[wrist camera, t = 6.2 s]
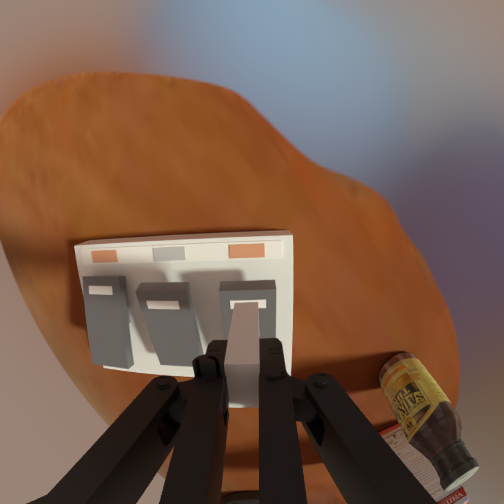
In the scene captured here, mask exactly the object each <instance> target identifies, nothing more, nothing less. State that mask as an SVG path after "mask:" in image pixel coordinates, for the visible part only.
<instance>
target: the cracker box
mask: <svg viewBox="0 0 504 504" xmlns="http://www.w3.org/2000/svg"><path fill="white" fill-rule="evenodd" d="M378 433H379V434H380V435H381V436H382V438H383V439H384V440H385V441H386V442H387V444H388V445H389V446H390V447H391V448H392V450H393V451H394V452H395V453H396V454H397V456H398V457H399V458H400V459H401V461H402V462H403V463H404V464H405V465H406V467H407V468H408V469H409V470H410V471H411V472H412V474H413V475H414V476H415V477H416V478H417V480H418V481H419V482H420V483H421V484H422V486H423V487H424V488H425V489H426V490H427V491H428V493H429V494H430V495H431V496H432V497H433V499H434V500H435V501H436V502H437V503H438V504H466V503H467V502H468V500H469V498H468V496H467V494H466V492H465V491H464V489H463V487H462V485H461V484H460V485H459V486H457V487H455V488H454V489H452V490H450V491H443V489H442V487H441V485H440V478H439V476H438V474H437V472H436V470H435V468H434V467H433V466H432V464H431V462H430V461H429V460H428V459H427V458H426V457H425V456H424V455H423V454H421V453H420V452H419V451H418V450H416V449H415V448H414V447H413V446H412V445H410V444H409V442H408V440H407V438H406V436H405V434H404V432H403V430H402V428H401V426H400V424H399V423H398V424H396V425H394V426H391V427H389V428H387V429H385V430H383V431H380V432H378Z"/></svg>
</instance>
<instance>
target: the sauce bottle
mask: <svg viewBox="0 0 504 504" xmlns="http://www.w3.org/2000/svg"><path fill="white" fill-rule="evenodd" d="M379 383H380V385H381V389H382V391H383V393H384V395H385V397H386V399H387V401H388V403H389V405H390V406H391V408H392V410H393V412H394V414H395V416H396V418H397V420H398V423H399V424H400V426H401V428H402V430H403V432H404V434H405V436H406V438H407V440H408V442H409V444H410V445H412V446H413V447H414V448H415V449H416V450H418V451H419V452H420V453H421V454H423V455H424V456H425V457H426V458H427V459H428V460H429V461H430V462H431V464H432V466H433V467H434V468H435V470H436V472H437V474H438V476H439V478H440V485H441V487H442V489H443V491H450V490H452V489H454V488H455V487H457V486H459V485H460V484H462V483H463V482H464V481H466V480H467V479H468V478H470V477H471V476H472V475H473V474H474V473H475V472H476V471H477V470H478V468H479V465H478V463H477V461H476V459H475V458H472V457H471V455H470V453H469V452H468V450H467V449H466V447H465V445H464V442H463V441H462V440H461V429H462V426H461V419H460V417H459V415H458V414H457V412H456V411H455V409H454V408H453V406H452V403H451V402H450V400H449V399H448V398H447V396H446V395H445V394H444V392H443V391H442V390H441V388H440V387H439V386H438V384H437V383H436V381H435V380H434V379H433V377H432V376H431V375H430V373H429V372H428V371H427V369H426V368H425V367H424V366H423V364H422V363H421V362H420V361H419V360H418V359H417V358H416V357H415V356H414V355H413V354H411V353H406V352H404V353H399V354H397V355H395V356H393V357H392V358H391V359H389V360H388V361H387V362H386V363H385V364H384V366H383V367H382V369H381V370H380V373H379Z"/></svg>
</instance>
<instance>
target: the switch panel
mask: <svg viewBox="0 0 504 504" xmlns="http://www.w3.org/2000/svg"><path fill="white" fill-rule="evenodd" d="M74 248H75V255H76V261H77V267H78V272H79V277H80V283H81V287H82V292H83V277H82V276H125V277H126V294H127V308H128V319H129V328H130V337H131V345H132V352H133V359H134V365H133V366H132V367H130V368H129V369H124V368H117V367H110V366H104V368H109V369H115V370H123V371H130V372H139V373H148V374H159V375H171V376H188V377H195V376H194V370H193V367H187V366H169V365H160V362H159V360H158V357H157V355H156V352H155V349H154V347H153V344H152V341H151V338H150V335H149V333H148V330H147V327H146V324H145V321H144V318H143V315H142V312H141V308H140V305H139V302H138V299H137V295H136V292H135V291H136V290H137V288H138V286H139V285H140V283H149V282H189V284H190V290H191V295H192V300H193V305H194V311H195V316H196V320H197V325H198V330H199V335H200V339H201V344H202V348H203V353H204V354H205V353H206V350H207V346H208V344H209V343H210V342H211V341H212V340H225V336H224V329H223V321H222V314H221V306H220V299H219V286H220V281H249V280H275V283H276V338H278V339H279V340H280V341H281V342H282V346H283V352H284V359H285V365H286V371H287V373H288V374H289V375H290V376H291V359H292V326H293V235H292V233H291V232H290V231H289V230H277V231H249V232H225V233H203V234H183V235H164V236H147V237H131V238H115V239H101V240H88V241H86V242H83V243H80V244H78V245H75V246H74ZM83 296H84V293H83Z"/></svg>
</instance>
